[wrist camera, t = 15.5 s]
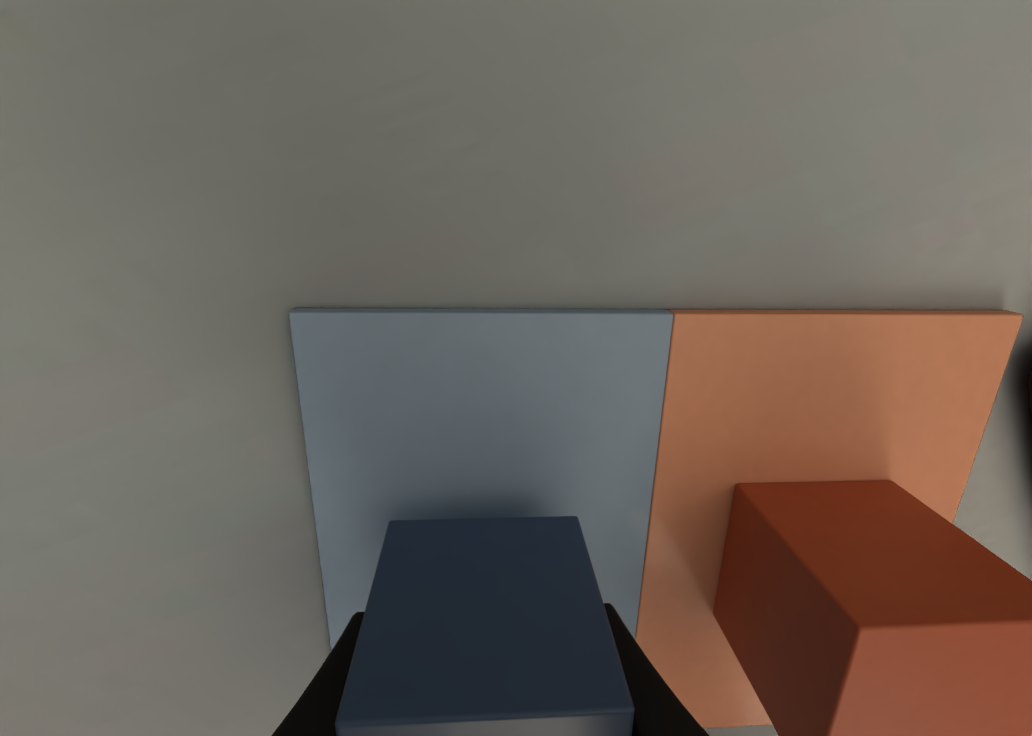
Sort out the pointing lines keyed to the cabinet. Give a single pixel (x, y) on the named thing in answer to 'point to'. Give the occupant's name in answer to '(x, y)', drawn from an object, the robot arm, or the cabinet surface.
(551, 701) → the slate block
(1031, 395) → the smartphone
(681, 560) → the sorting board
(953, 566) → the terracotta block
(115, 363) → the cabinet surface
